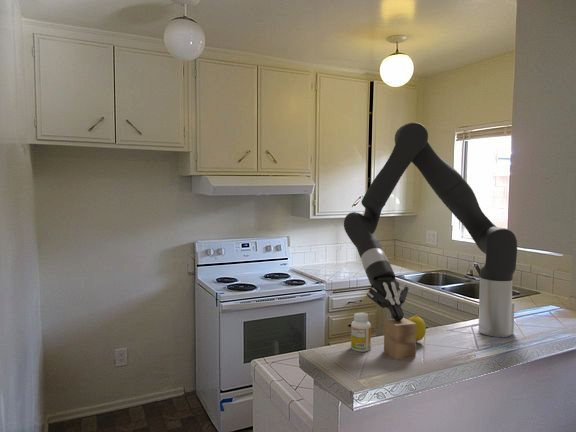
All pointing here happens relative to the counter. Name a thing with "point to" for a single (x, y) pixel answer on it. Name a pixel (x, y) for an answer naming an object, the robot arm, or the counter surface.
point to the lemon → (419, 327)
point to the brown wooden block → (400, 338)
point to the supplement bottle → (360, 333)
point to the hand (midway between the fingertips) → (399, 319)
